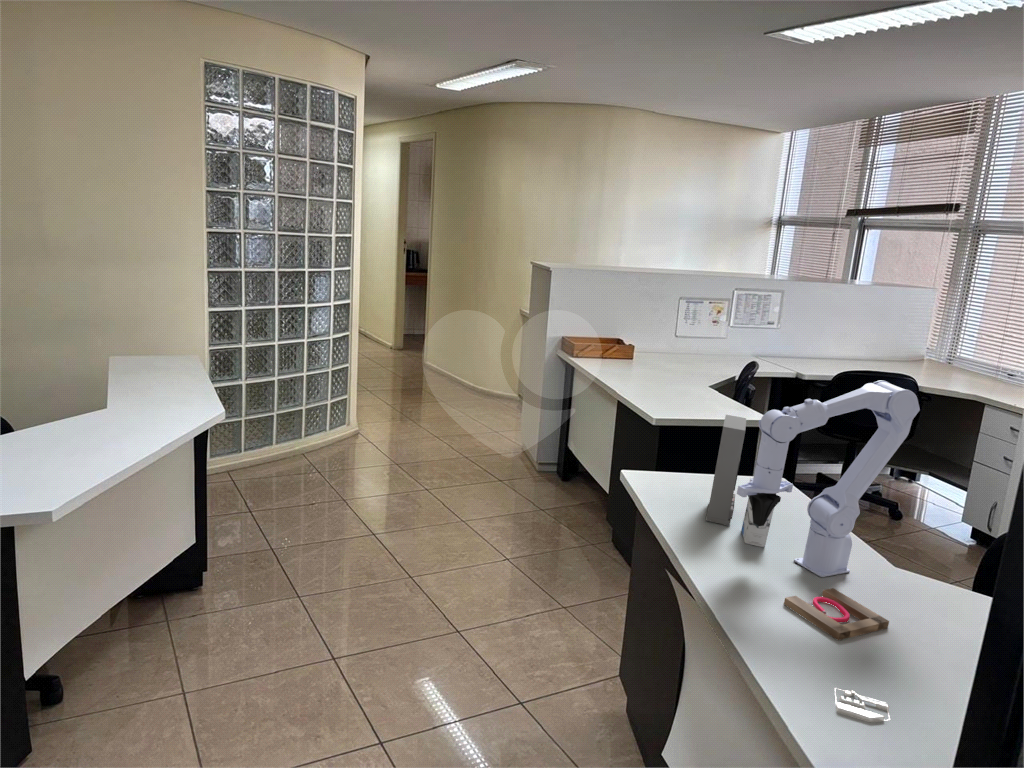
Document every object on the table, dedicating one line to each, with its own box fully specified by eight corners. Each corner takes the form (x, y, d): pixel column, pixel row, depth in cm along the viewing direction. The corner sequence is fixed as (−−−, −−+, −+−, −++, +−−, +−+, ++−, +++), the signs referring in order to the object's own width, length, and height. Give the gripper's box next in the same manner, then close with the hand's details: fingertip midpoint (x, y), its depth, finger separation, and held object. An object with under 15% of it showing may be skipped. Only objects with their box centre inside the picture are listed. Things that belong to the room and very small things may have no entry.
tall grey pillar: (730, 527, 180) (748, 431, 174) (705, 521, 182) (722, 426, 176) (732, 508, 193) (749, 418, 187) (709, 503, 195) (725, 414, 189)
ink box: (741, 529, 179) (749, 485, 176) (762, 533, 178) (771, 489, 175) (744, 544, 171) (753, 497, 168) (766, 548, 170) (776, 501, 167)
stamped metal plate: (835, 715, 112) (837, 707, 112) (833, 690, 118) (835, 682, 118) (891, 732, 109) (893, 723, 109) (886, 706, 116) (888, 698, 115)
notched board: (831, 594, 150) (833, 588, 150) (887, 628, 139) (889, 621, 139) (783, 604, 144) (785, 597, 143) (838, 640, 133) (840, 633, 132)
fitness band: (806, 601, 147) (807, 594, 146) (833, 603, 147) (834, 596, 147) (825, 623, 139) (827, 616, 139) (854, 625, 140) (856, 618, 139)
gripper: (779, 457, 162) (768, 513, 165) (731, 461, 156) (720, 519, 159) (804, 468, 156) (792, 526, 159) (755, 472, 150) (744, 533, 153)
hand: (758, 524), depth 159 cm, fingers closed
